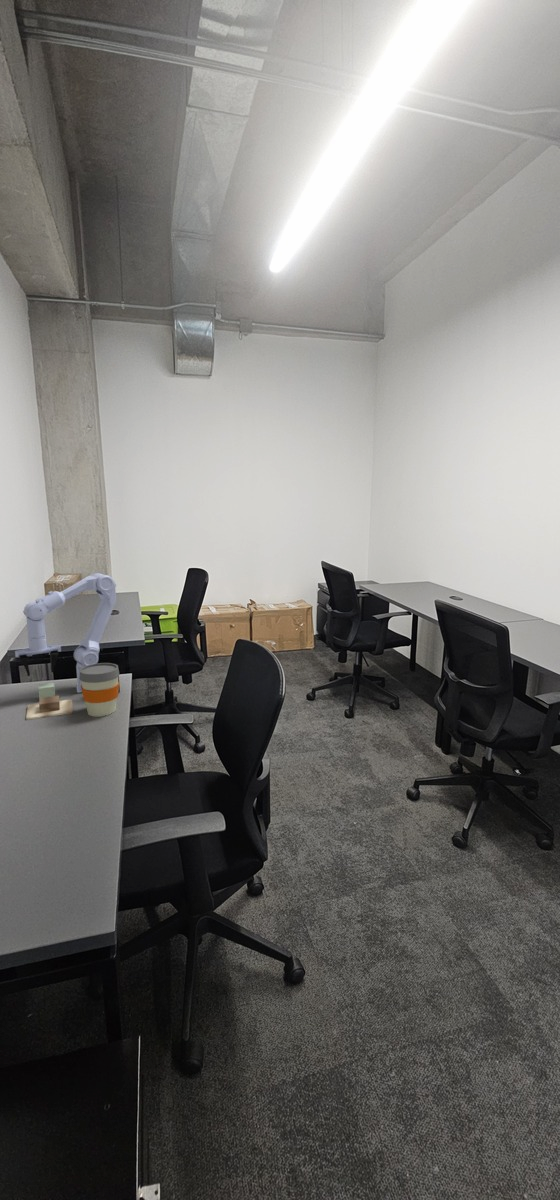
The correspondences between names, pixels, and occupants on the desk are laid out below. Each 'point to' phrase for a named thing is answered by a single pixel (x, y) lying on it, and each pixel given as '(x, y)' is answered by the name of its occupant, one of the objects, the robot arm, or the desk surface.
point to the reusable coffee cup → (100, 688)
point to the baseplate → (37, 714)
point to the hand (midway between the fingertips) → (40, 673)
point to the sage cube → (46, 690)
